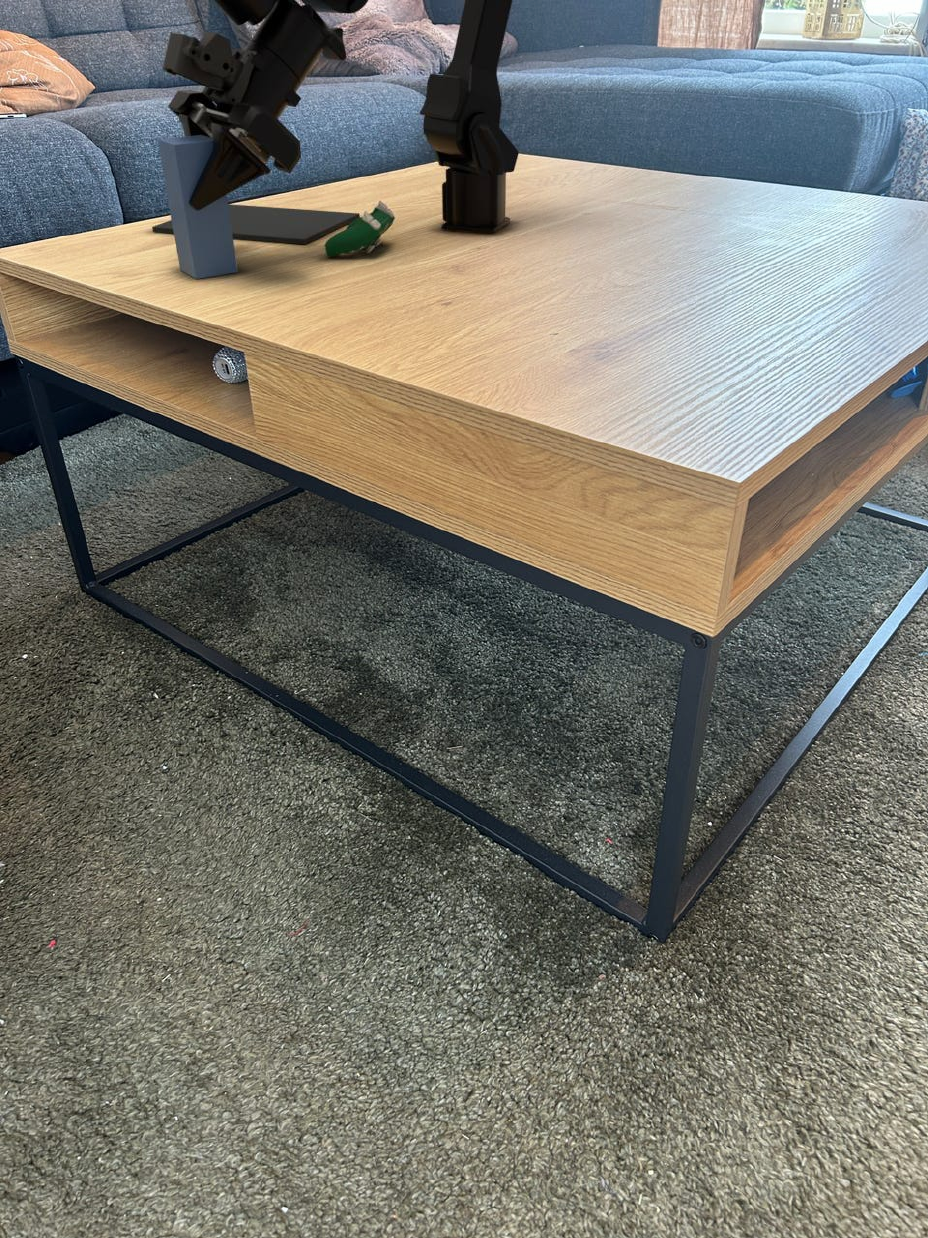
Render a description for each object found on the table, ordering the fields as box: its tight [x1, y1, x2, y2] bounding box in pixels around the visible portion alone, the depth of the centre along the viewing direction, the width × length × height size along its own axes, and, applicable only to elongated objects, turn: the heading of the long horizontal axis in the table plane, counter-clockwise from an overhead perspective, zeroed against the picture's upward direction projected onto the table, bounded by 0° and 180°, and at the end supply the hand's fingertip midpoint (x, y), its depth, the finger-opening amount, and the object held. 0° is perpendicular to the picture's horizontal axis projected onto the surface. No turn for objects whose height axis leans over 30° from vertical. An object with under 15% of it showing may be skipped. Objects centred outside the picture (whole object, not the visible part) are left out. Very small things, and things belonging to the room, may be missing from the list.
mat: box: [151, 203, 361, 245], centre depth 114 cm, size 20×14×1 cm
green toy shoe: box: [324, 200, 396, 258], centre depth 103 cm, size 9×4×6 cm
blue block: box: [157, 135, 239, 280], centre depth 93 cm, size 4×4×12 cm
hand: (184, 202), depth 93 cm, fingers closed on blue block, 4 cm apart
